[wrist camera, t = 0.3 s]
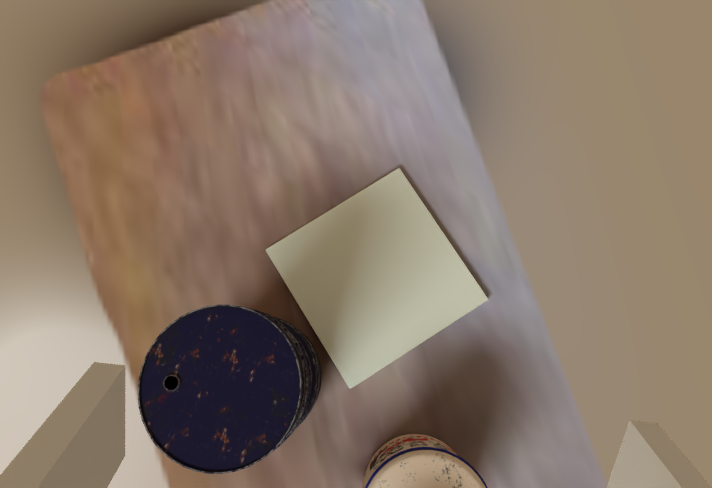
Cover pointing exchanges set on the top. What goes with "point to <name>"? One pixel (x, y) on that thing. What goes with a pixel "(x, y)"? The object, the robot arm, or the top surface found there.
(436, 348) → the top surface
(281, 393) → the dark blue canister
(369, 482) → the teacup with lid
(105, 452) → the robot arm
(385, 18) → the top surface
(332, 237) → the coaster
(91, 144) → the top surface
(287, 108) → the top surface
